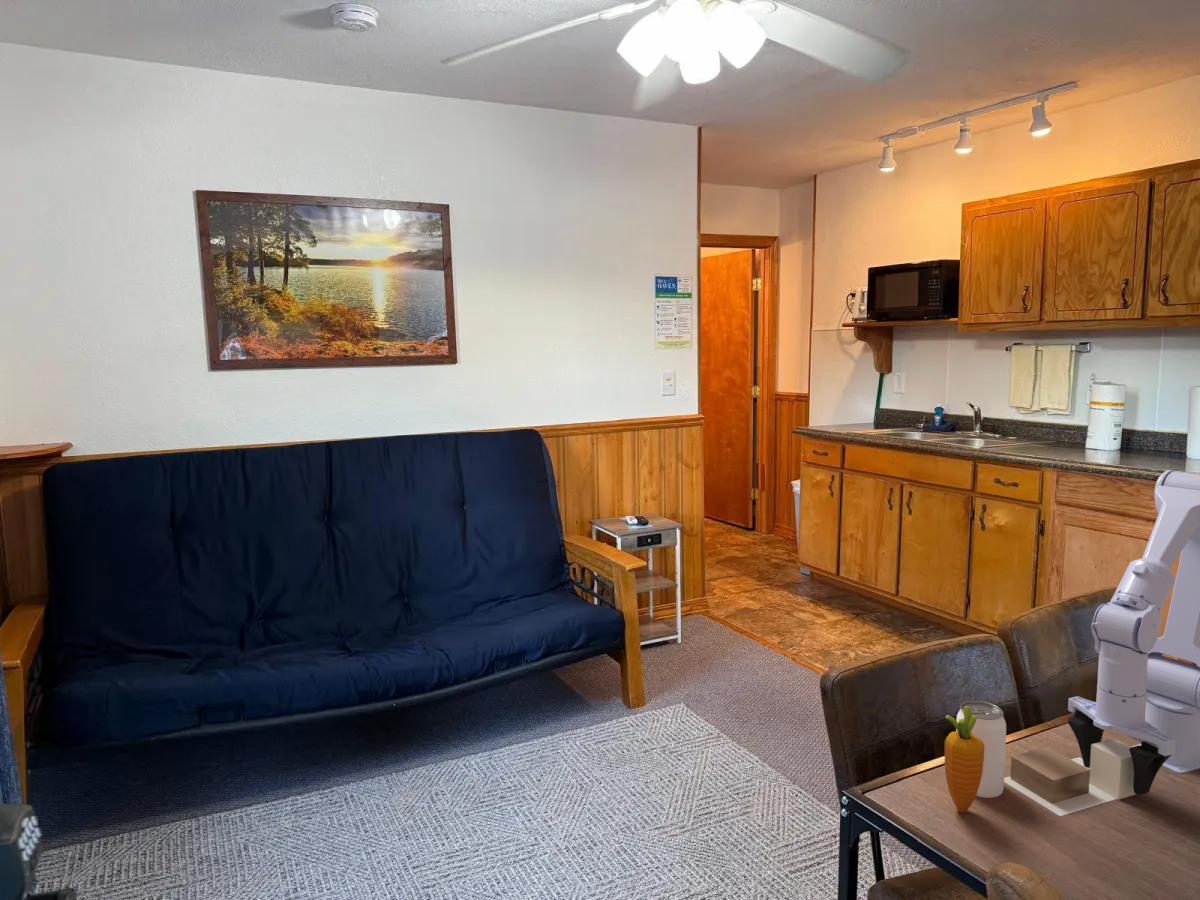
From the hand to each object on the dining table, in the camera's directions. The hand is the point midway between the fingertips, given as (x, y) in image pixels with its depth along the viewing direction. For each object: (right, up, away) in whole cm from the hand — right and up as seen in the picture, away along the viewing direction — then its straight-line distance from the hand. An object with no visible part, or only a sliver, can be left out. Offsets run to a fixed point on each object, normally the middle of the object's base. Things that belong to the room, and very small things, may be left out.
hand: (1115, 778), depth 114 cm
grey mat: (-6, -2, +1) cm, 6 cm away
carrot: (-24, -3, -4) cm, 24 cm away
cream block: (0, -1, 0) cm, 1 cm away
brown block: (-9, -2, +1) cm, 9 cm away
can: (-19, -2, +2) cm, 19 cm away
